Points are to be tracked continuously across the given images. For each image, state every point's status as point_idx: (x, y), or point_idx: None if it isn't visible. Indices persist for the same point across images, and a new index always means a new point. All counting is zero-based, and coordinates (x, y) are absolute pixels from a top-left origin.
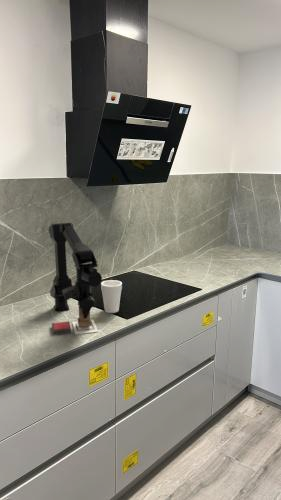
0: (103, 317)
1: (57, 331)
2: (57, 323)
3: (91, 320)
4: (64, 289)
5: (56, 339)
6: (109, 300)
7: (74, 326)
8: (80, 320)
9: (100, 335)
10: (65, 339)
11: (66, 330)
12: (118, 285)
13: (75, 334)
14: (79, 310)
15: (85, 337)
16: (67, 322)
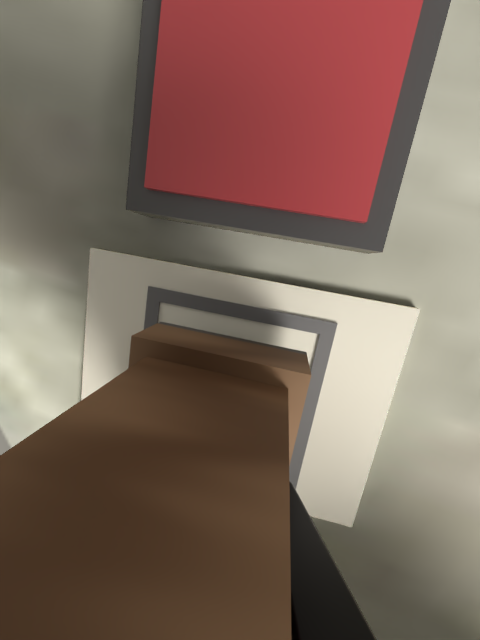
0: (375, 624)
1: (145, 22)
2: (372, 48)
3: (343, 506)
4: None
5: (44, 14)
6: None
7: (271, 293)
8: (134, 368)
9: (22, 439)
10: (22, 119)
11: (136, 152)
12: None
13: (93, 248)
14: (97, 482)
15: (16, 316)
16: (334, 215)
